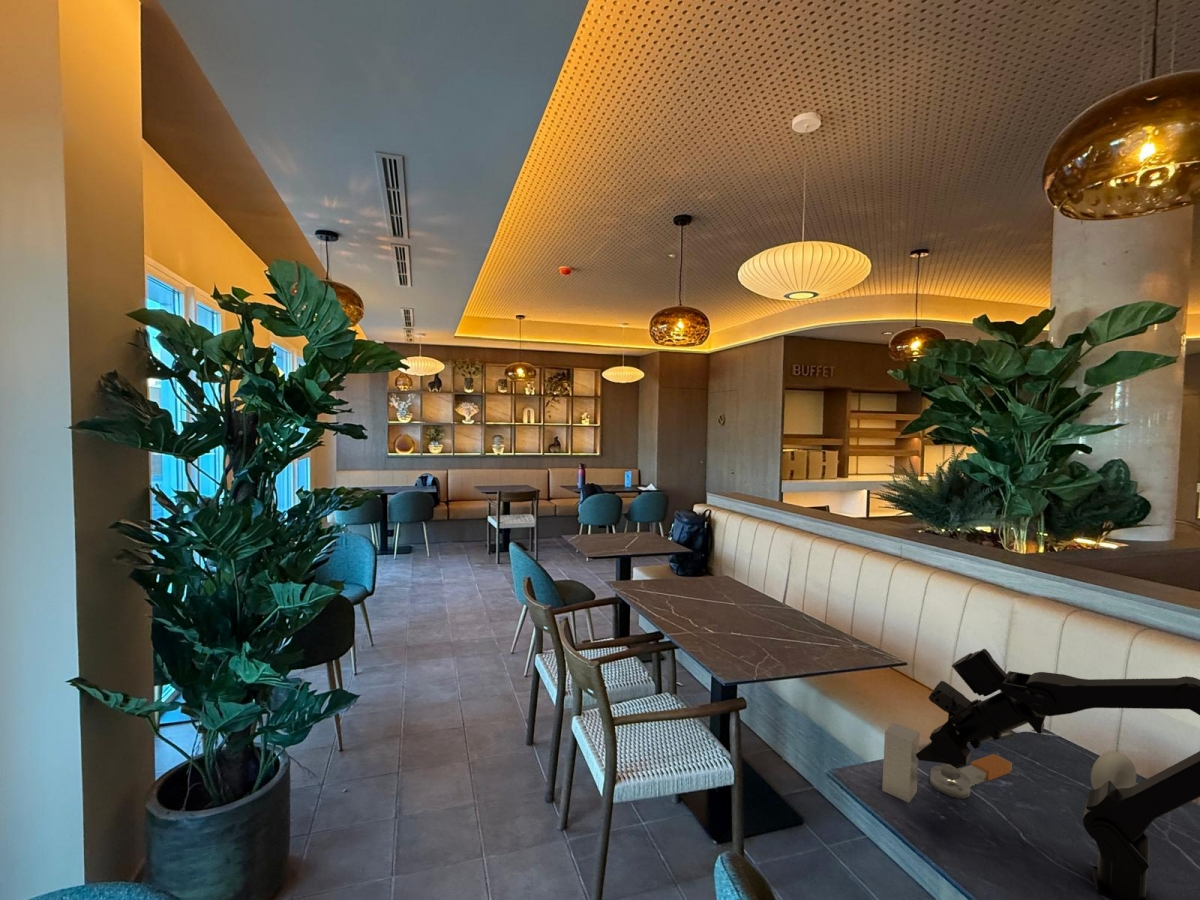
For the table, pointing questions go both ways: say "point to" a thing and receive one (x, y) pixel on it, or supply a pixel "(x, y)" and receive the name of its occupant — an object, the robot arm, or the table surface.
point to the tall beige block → (900, 762)
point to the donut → (1113, 771)
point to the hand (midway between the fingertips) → (924, 748)
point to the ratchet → (968, 775)
